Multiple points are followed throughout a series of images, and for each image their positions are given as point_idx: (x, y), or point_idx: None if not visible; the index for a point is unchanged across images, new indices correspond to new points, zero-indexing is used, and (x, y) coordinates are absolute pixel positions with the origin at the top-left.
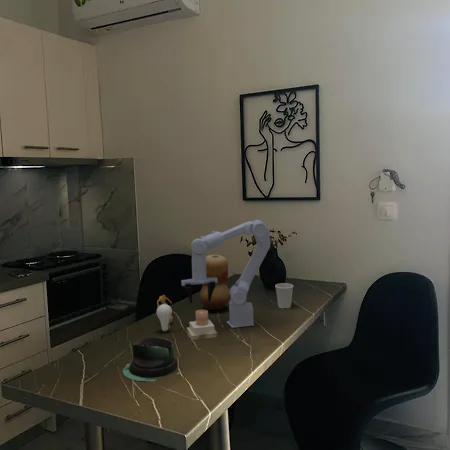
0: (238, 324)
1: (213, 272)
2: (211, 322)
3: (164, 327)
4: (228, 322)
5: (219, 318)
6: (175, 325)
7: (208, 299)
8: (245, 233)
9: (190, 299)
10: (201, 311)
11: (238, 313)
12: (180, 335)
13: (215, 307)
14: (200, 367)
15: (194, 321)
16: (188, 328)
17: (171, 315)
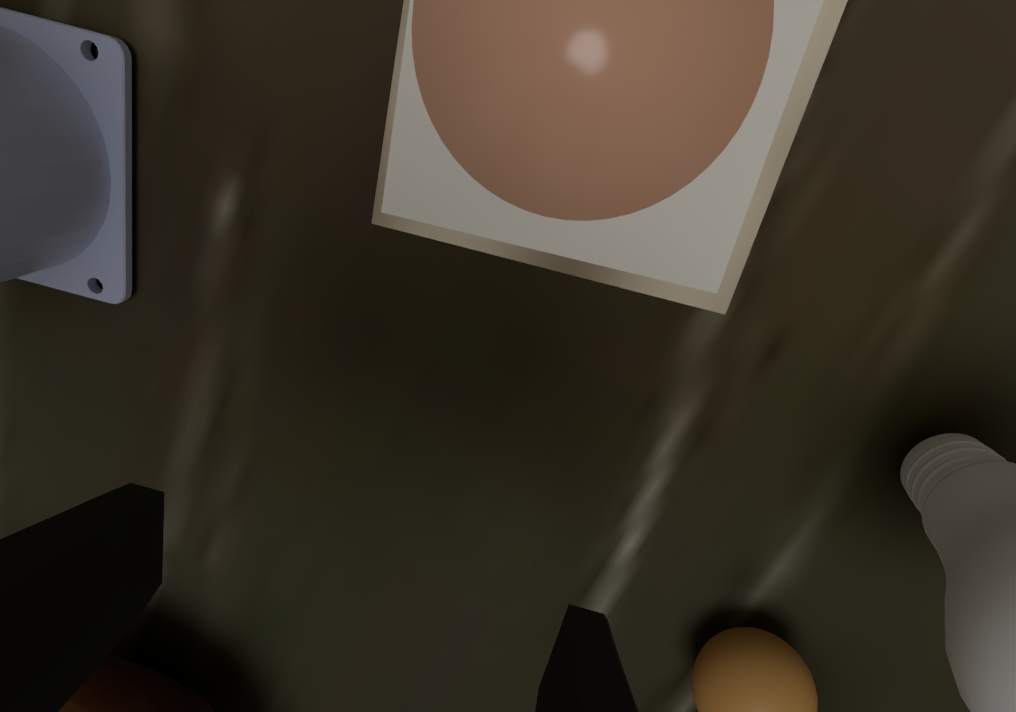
0: (5, 32)
1: None
2: (407, 32)
3: (1002, 459)
4: (116, 242)
5: (174, 462)
6: (710, 549)
7: (146, 557)
8: None
9: (622, 681)
10: (599, 30)
11: None
12: (871, 204)
13: (121, 663)
14: None
15: (638, 261)
16: None
17: (720, 707)
